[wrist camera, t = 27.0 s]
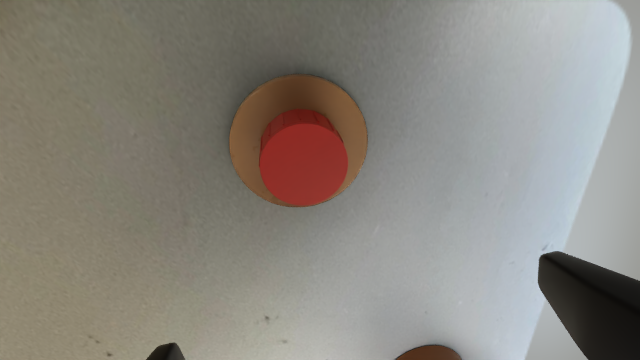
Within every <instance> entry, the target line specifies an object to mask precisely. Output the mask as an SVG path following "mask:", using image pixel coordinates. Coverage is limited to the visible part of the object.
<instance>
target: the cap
mask: <svg viewBox="0 0 640 360" xmlns="http://www.w3.org/2000/svg"><path fill="white" fill-rule="evenodd" d="M259 167H260V174H261V177H262V180H263V182H264V184H265V186H266V187H267V189H268V190H269V191H270V192H271V193H272V194H273V195H274V196H275V197H277V198H278V199H280V200H282V201H284V202H286V203H289V204H293V205H312V204H316V203H319V202H322V201H324V200H326V199H327V198H329V197H331V196H332V195H333V194H334V193H335V192H336V191H337V190H338V189H339V188H340V186H341V185H342V183H343V182H344V180H345V177H346V174H347V171H348V155H347V152H346V149H345V147H344V142H343V140H342V138H341V136H340V134H339V132H338V131H337V130H336V129H335V128H334V126H333V125H332V123H331V122H330V120H329V119H328V118H326V117H324V116H323V115H321V114H319V113H317V112H315V110H313V111H312V110H307V109H299V108H297V109H294V110H290V111H287V112H284V113H281V114H280V115H279V116H277V117H276V118H274V119H273V120H272V121H271V122H269V123H268V126H267V128H266V129H265V131H264V133H263V136H261V144H260V154H259Z"/></svg>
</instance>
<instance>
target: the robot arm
mask: <svg viewBox="0 0 640 360" xmlns="http://www.w3.org/2000/svg"><path fill="white" fill-rule="evenodd" d="M538 284H539V287H540V289H541V291H542V293H543V294H544V296H545V297H546V299H547V300H548V302H549V303H550V305H551V307H552V308H553V310H554V311H555V313H556V314H557V316H558V317H559V319H560V320H561V322H562V323H563V325H564V326H565V328H566V329H567V331H568V333H569V334H570V336H571V337H572V339H573V340H574V341H575V343H576V344H577V346H578V347H579V348H580V350H581V351H582V352H583V354H584V355H585V356H586V357H587V359H588V360H640V281H638V280H635V279H633V278H630V277H628V276H625V275H622V274H619V273H617V272H614V271H611V270H608V269H606V268H603V267H600V266H598V265H595V264H592V263H590V262H587V261H584V260H581V259H579V258H576V257H573V256H570V255H568V254H565V253H562V252H559V251H555V252H550V253H546V254H543V255H541V256H540V258H539V270H538ZM146 360H185V358H184V356H183V354H182V352H181V350H180V348H179V346H178V345H177V344H176V343H168V344H164V345H160V346H158V347H157V348H156V349H155V350H154V351H153V352H152V353H151V354H150V356H149V357H148V358H147V359H146Z"/></svg>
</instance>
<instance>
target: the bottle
mask: <svg viewBox="0 0 640 360" xmlns="http://www.w3.org/2000/svg"><path fill="white" fill-rule="evenodd" d="M396 360H462V359H461V358H460V356H459V355H458V354H457V353H456V352H455V351H453V350H451V349H450V348H447V347H443V346H437V345H431V346H423V347H419V348H416V349H413V350H410V351H408V352H406V353H405V354H403V355H401V356H400V357H399V358H397V359H396Z"/></svg>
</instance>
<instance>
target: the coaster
mask: <svg viewBox="0 0 640 360" xmlns="http://www.w3.org/2000/svg"><path fill="white" fill-rule="evenodd" d="M297 108H299V109H307V110H312V111H313V110H315V112H317V113H319V114H321V115H323V116H324V117H326V118H328V119H329V120H330V122H331V123H332V125H333V126H334V128H335V129H336V130H337V131H338V132H339V134H340V136H341V138H342V140H343V142H344V147H345V149H346V152H347V155H348V171H347V174H346V177H345V180H344V182H343V183H342V185H341V186H340V188H339V189H338V190H337V191H336V192H335V193H334V194H333V195H332V196H331V197H329V198H327V199H326V200H324V201H322V202H319V203H316V204H312V205H293V204H289V203H286V202H284V201H282V200H280V199H278V198H277V197H275V196H274V195H273V194H272V193H271V192H270V191H269V190H268V189H267V187H266V186H265V184H264V182H263V180H262V177H261V174H260V167H259V154H260V144H261V136H263V133H264V131H265V129H266V128H267V126H268V123H269V122H271V121H272V120H273V119H274V118H276V117H277V116H279V115H280V114H281V113H284V112H287V111H290V110H294V109H297ZM367 143H368V137H367V128H366V124H365V121H364V118H363V115H362V113H361V111H360V109H359V108H358V106H357V105H356V103H355V102H354V100H353V99H352V98H351V97H350V96H349V95H348V94H347V93H346V92H345V91H344V90H343V89H342V88H340V87H339V86H338V85H336V84H334V83H332V82H331V81H329V80H326V79H324V78H321V77H318V76H314V75H308V74H290V75H284V76H280V77H277V78H274V79H271V80H269V81H267V82H265V83H263V84H262V85H260V86H259V87H257V88H256V89H255V90H253V91H252V92H251V93H250V94H249V95H248V96H247V97H246V98H245V99H244V101H243V102H242V104H241V105H240V107H239V108H238V110H237V112H236V114H235V116H234V119H233V122H232V125H231V130H230V135H229V149H230V155H231V159H232V163H233V165H234V168H235V170H236V172H237V174H238V175H239V177H240V178H241V180H242V181H243V182H244V184H245V185H246V186H247V187H248V188H249V189H250V190H251V191H253V192H254V193H255V194H256V195H258V196H260V197H261V198H263V199H265V200H267V201H269V202H271V203H274V204H277V205H281V206H286V207H308V206H314V205H317V204H320V203H323V202H326V201H328V200H330V199H332V198H334V197H335V196H337V195H338V194H340V193H341V192H342V191H344V190H345V189H346V188H347V187H348V186H349V185H350V184H351V183H352V181H353V180H354V179H355V178H356V176H357V175H358V173H359V171H360V169H361V167H362V165H363V163H364V160H365V157H366V152H367Z"/></svg>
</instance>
